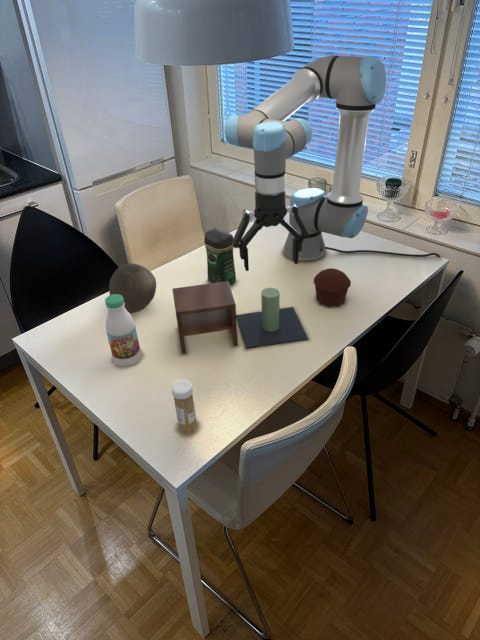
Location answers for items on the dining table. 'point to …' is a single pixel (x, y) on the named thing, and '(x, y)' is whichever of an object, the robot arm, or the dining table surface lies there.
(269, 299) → the canister
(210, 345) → the dining table surface
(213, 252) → the coffee jar
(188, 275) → the dining table surface
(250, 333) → the felt mat
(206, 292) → the wooden side table
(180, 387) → the sprinkles bottle
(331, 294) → the muffin
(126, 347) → the milk bottle
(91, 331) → the dining table surface
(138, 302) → the dimpled grey orange
